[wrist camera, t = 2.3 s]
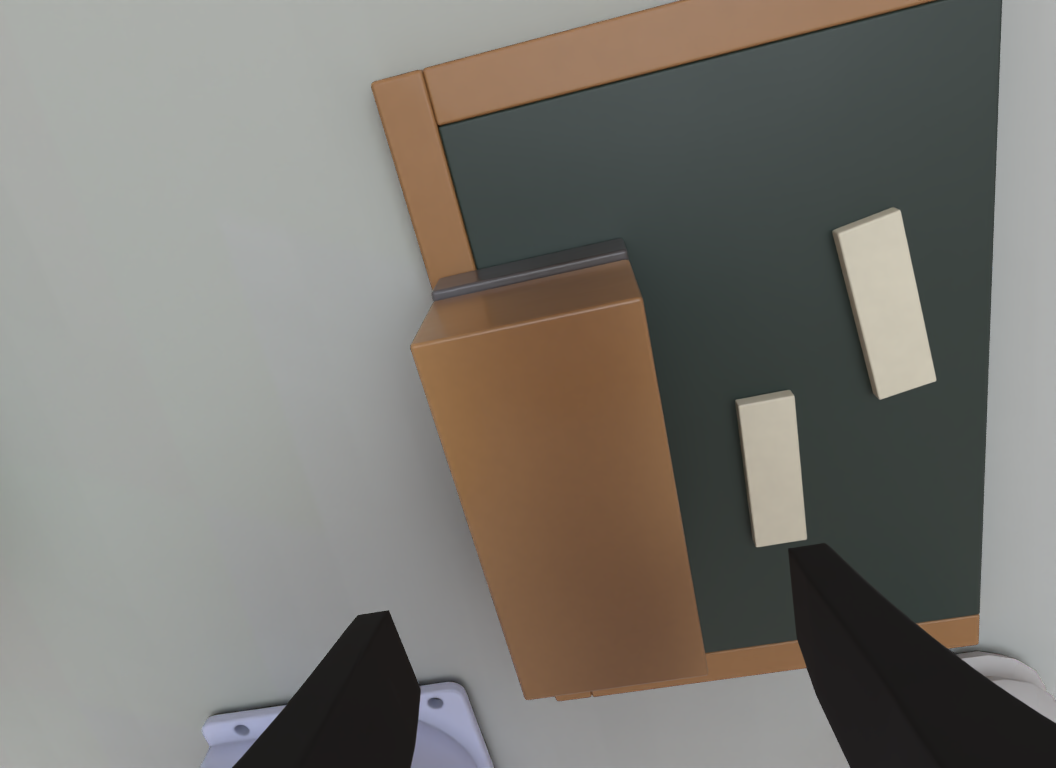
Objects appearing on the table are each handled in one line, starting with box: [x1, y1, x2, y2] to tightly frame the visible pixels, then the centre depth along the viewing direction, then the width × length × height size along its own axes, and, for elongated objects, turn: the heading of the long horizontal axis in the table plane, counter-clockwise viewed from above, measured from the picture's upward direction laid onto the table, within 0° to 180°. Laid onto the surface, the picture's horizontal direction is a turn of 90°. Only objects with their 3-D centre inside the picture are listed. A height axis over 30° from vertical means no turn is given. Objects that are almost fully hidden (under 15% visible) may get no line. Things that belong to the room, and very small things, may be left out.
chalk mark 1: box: [735, 390, 807, 547], centre depth 18 cm, size 4×1×1 cm, turn 13°
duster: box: [410, 238, 708, 700], centre depth 17 cm, size 4×10×4 cm, turn 13°
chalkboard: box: [371, 0, 1002, 701], centre depth 18 cm, size 13×19×1 cm
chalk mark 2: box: [832, 207, 936, 400], centre depth 16 cm, size 4×1×1 cm, turn 23°
